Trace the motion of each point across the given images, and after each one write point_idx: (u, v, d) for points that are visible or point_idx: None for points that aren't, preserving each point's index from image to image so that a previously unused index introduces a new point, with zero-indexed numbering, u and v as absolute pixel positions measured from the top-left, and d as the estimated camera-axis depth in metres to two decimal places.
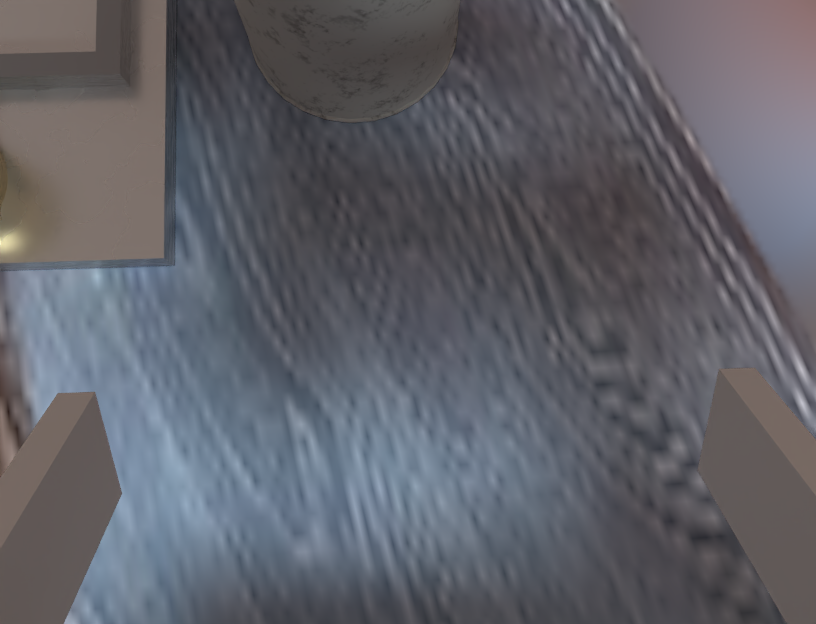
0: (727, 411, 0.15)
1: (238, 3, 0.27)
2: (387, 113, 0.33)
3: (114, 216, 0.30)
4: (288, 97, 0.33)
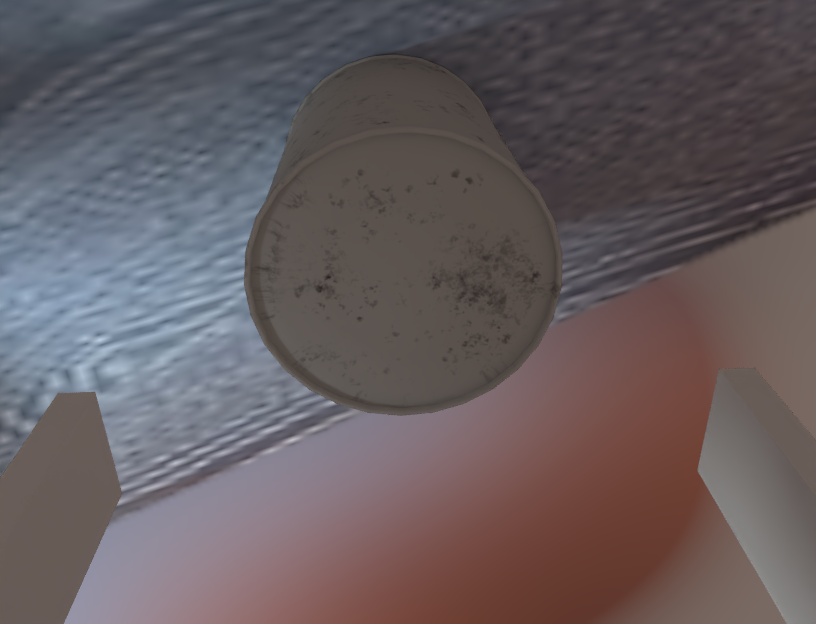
0: (727, 411, 0.15)
1: (325, 105, 0.26)
2: None
3: None
4: (304, 103, 0.31)
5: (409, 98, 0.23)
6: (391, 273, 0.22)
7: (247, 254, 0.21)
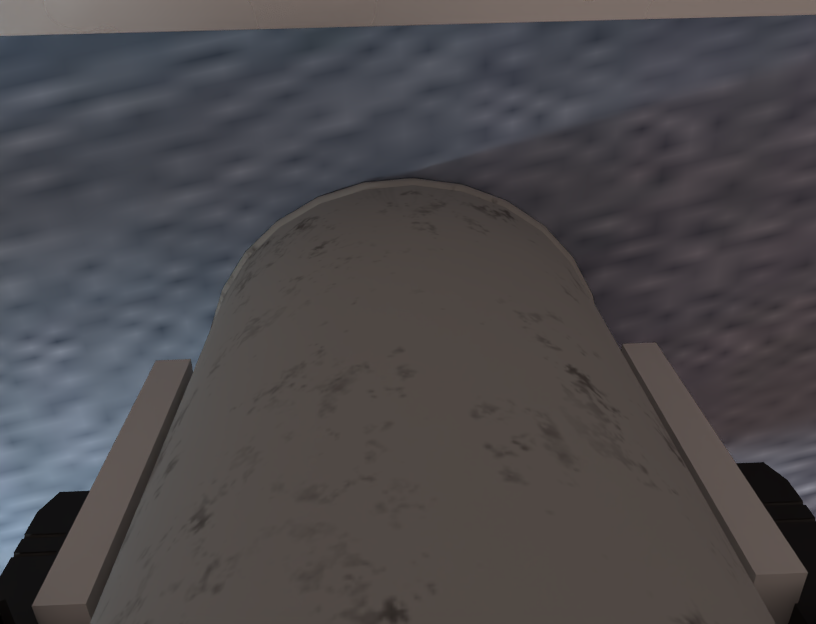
0: None
1: (255, 350, 0.11)
2: None
3: None
4: (242, 265, 0.16)
5: (458, 396, 0.09)
6: None
7: None
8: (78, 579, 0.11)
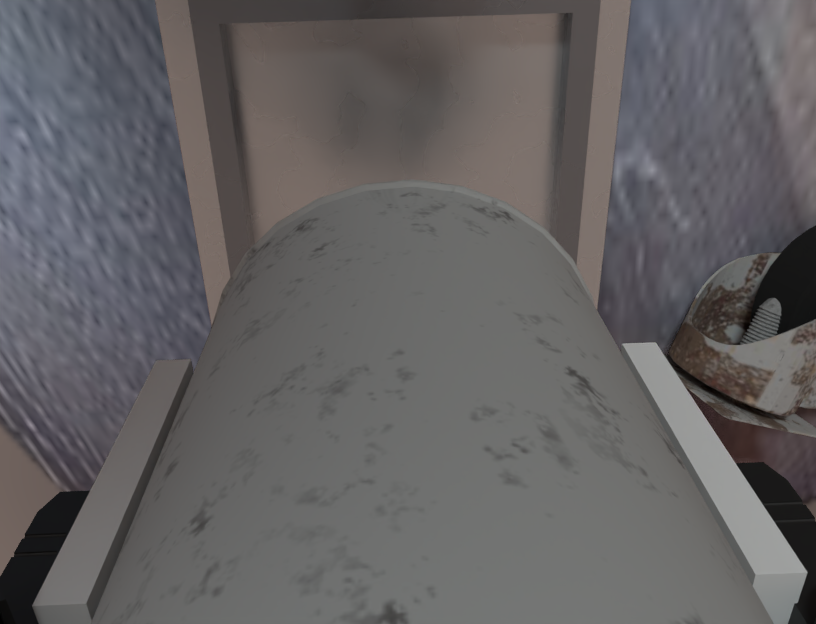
0: None
1: (255, 352, 0.11)
2: None
3: None
4: (242, 267, 0.16)
5: (458, 398, 0.09)
6: None
7: None
8: (79, 579, 0.11)
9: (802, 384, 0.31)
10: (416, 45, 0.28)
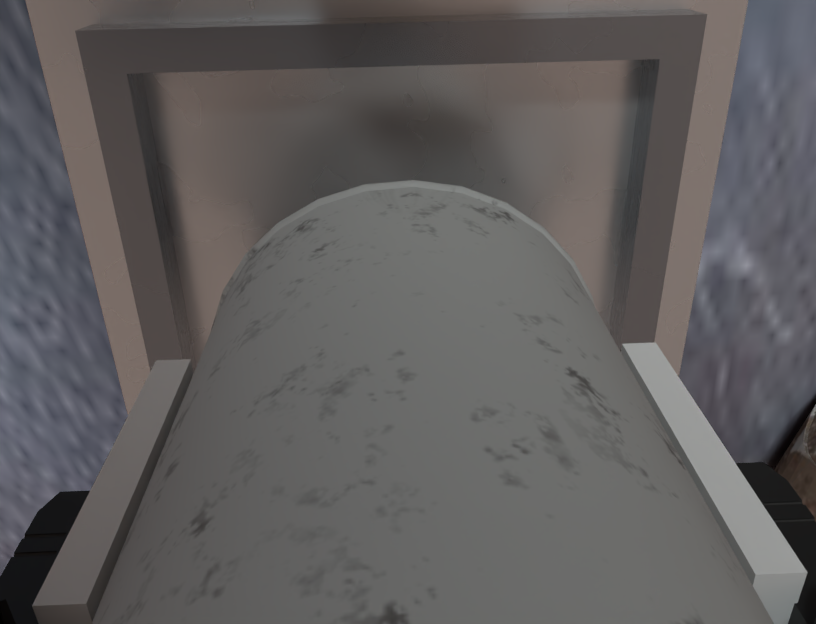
0: None
1: (255, 353, 0.11)
2: None
3: None
4: (242, 267, 0.16)
5: (459, 399, 0.09)
6: None
7: None
8: (78, 579, 0.11)
9: None
10: (423, 102, 0.19)
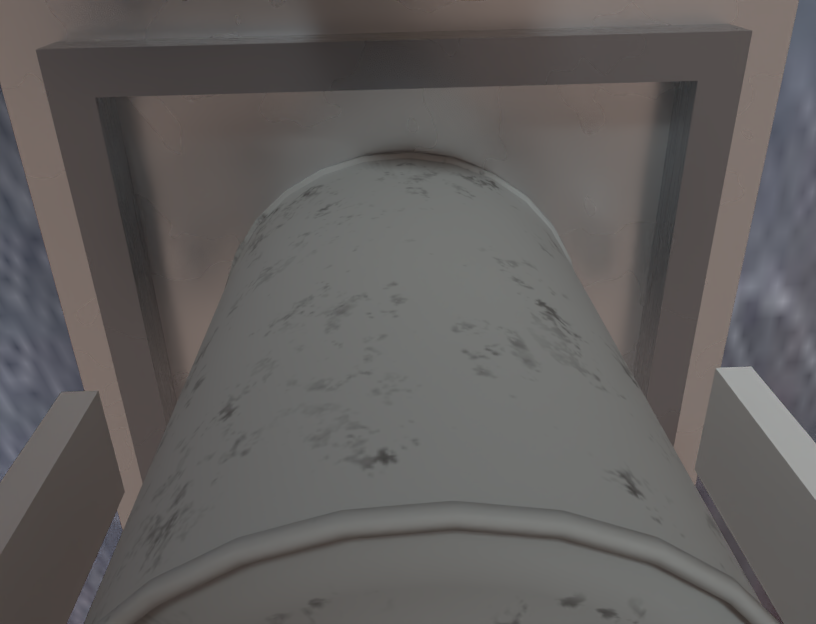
0: (723, 410, 0.15)
1: (269, 291, 0.13)
2: None
3: None
4: (253, 231, 0.18)
5: (442, 316, 0.10)
6: None
7: None
8: None
9: None
10: (430, 128, 0.17)
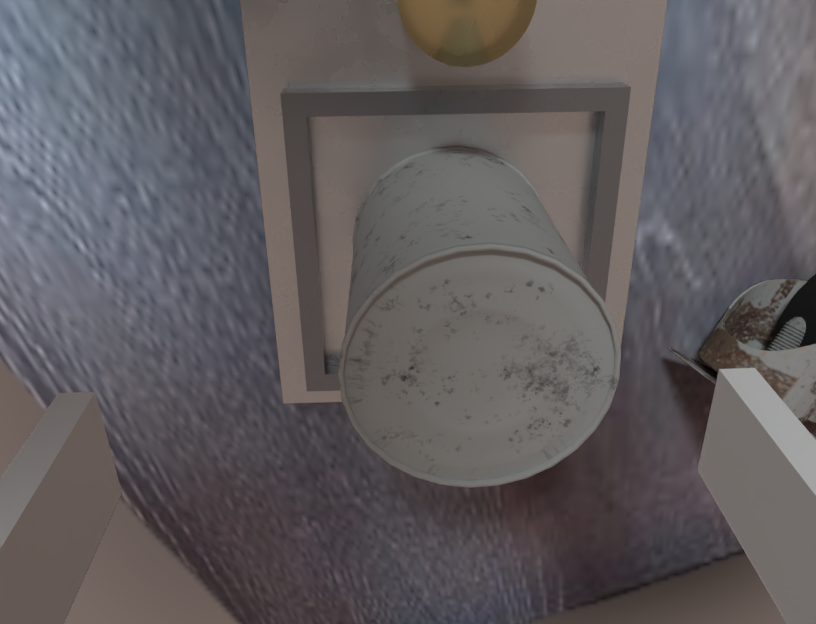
0: (727, 411, 0.15)
1: (402, 204, 0.29)
2: None
3: None
4: (374, 188, 0.34)
5: (483, 205, 0.26)
6: (468, 365, 0.25)
7: (343, 348, 0.24)
8: None
9: None
10: (469, 133, 0.33)
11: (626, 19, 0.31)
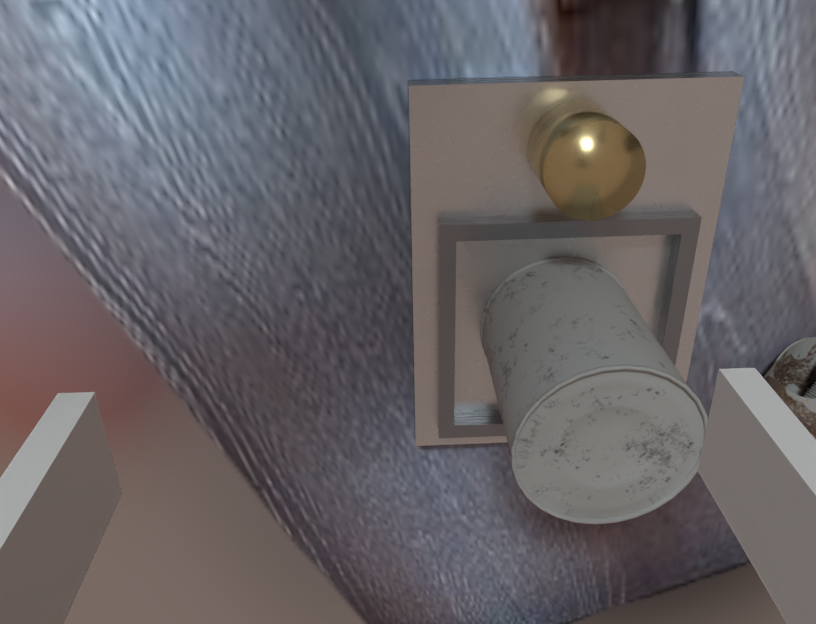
0: (727, 411, 0.15)
1: (539, 315, 0.39)
2: (485, 350, 0.46)
3: (447, 119, 0.40)
4: (500, 288, 0.44)
5: (606, 324, 0.37)
6: (601, 442, 0.35)
7: (517, 433, 0.35)
8: None
9: None
10: (575, 247, 0.44)
11: (698, 166, 0.41)
